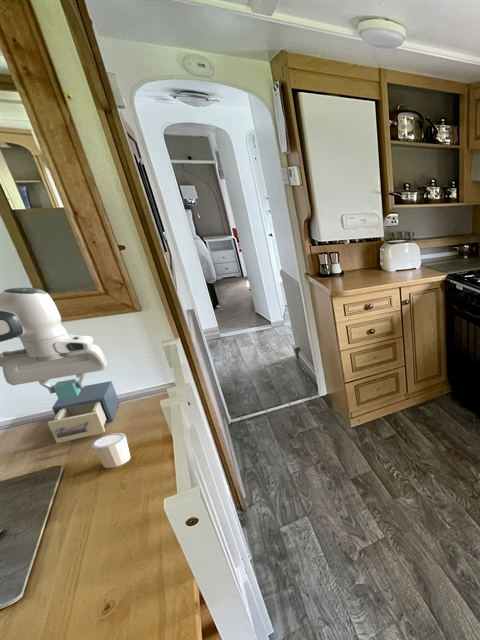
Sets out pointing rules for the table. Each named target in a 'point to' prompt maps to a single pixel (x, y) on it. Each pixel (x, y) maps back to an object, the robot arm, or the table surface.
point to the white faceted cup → (112, 450)
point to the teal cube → (66, 389)
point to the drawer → (78, 421)
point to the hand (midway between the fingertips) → (68, 389)
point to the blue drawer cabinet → (93, 398)
